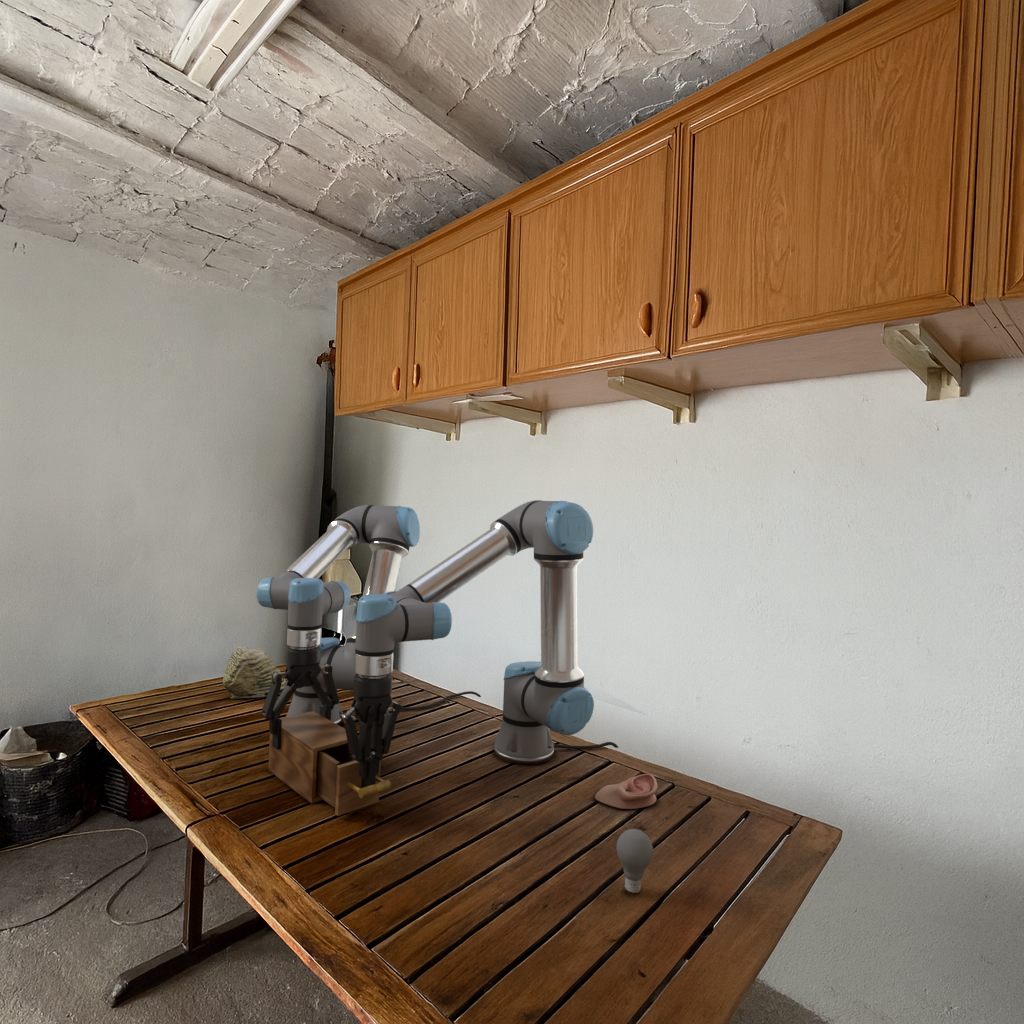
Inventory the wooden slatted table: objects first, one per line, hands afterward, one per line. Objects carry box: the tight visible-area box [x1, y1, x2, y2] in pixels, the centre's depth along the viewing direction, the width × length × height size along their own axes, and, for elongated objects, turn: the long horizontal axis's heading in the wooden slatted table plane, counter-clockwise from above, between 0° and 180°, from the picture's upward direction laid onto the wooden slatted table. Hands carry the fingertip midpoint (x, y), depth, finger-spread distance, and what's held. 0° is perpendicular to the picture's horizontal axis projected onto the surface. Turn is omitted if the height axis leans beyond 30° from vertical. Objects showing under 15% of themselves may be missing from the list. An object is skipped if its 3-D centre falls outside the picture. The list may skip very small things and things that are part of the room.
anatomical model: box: [594, 773, 658, 810], centre depth 139 cm, size 13×4×12 cm
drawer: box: [316, 743, 392, 817], centre depth 132 cm, size 26×9×10 cm, turn 45°
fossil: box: [222, 646, 287, 699], centre depth 198 cm, size 9×18×15 cm, turn 132°
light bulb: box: [615, 828, 654, 894], centre depth 106 cm, size 6×6×10 cm
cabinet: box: [268, 711, 359, 804], centre depth 142 cm, size 21×11×12 cm, turn 45°
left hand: (300, 741), depth 146 cm, fingers closed on cabinet, 11 cm apart
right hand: (368, 791), depth 125 cm, fingers closed
